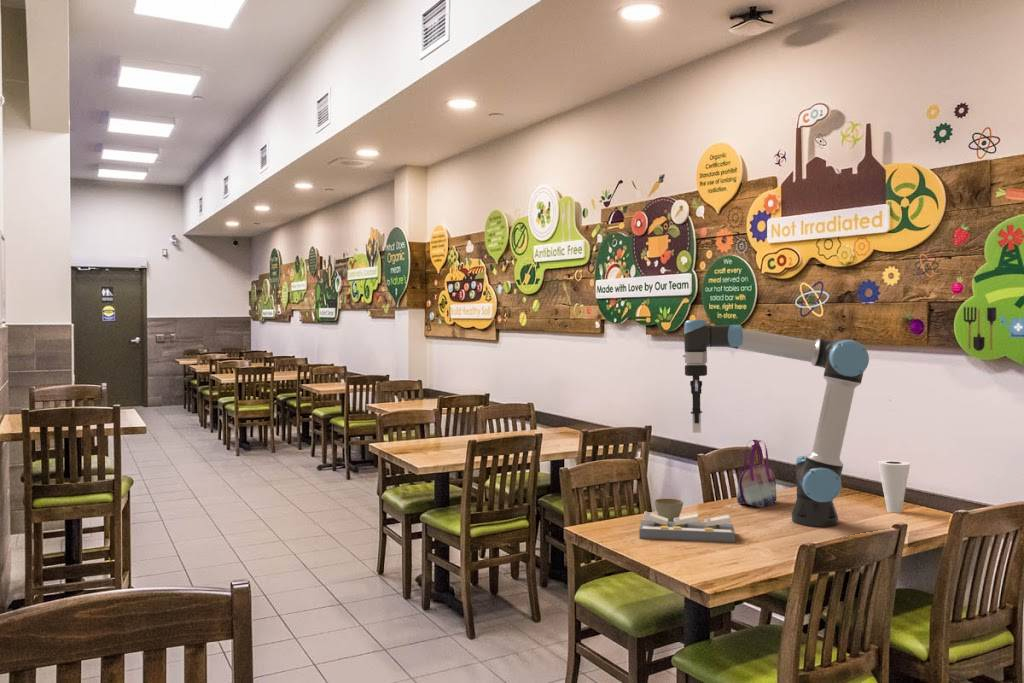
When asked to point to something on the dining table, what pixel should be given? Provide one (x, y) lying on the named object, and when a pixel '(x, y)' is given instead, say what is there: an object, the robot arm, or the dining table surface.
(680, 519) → the rocker
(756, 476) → the handbag
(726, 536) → the switch unit
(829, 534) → the dining table surface
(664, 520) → the rocker
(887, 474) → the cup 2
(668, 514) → the flower pot
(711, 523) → the rocker
